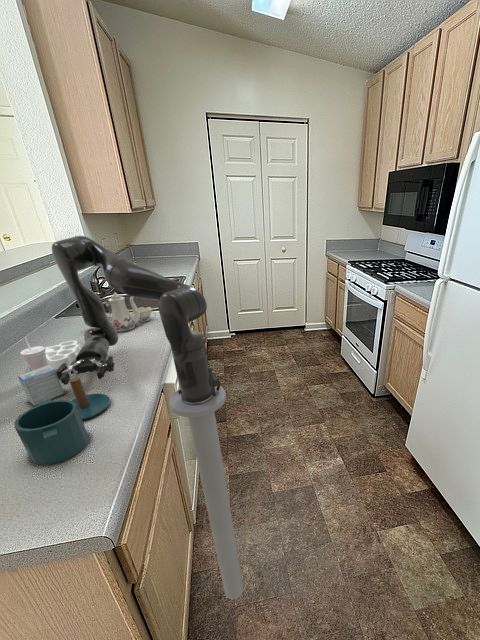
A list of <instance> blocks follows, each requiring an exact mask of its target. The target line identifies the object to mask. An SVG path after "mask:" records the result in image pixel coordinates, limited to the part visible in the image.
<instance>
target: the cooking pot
mask: <svg viewBox="0 0 480 640" xmlns="http://www.w3.org/2000/svg"><path fill="white" fill-rule="evenodd" d="M14 429H15V431H16V433H17V434H18V437H19V439H20V441H21V443H22V444H23V445H22V446H23V447H24V449H25V451H26V452H27V454H28V456H29V459H30V460H31V461H32V462H33V463H35V464H36V465H42V466H46V465H54V464H57V463H61V462H64V461H67V460H68V459H70V458H72V457H74V456H76V455H78V454H79V453H81V452H82V451H83V450H84V449H85V448H86V446H87V445H88V443H89V440H90V437H89V434H88V431H87V429H86V426H85V424H84V421H83V420H82V418H81V416H80V413H79V411H78V408H77V406H76V403H74V402H72V401H71V400H70V399H58V400H52V399H49V400H46V401H42V402H39V404H38V405H36V406H33V407H31V408H29V409H27V410H25V411H24V412H22V413H21V414H20V415H19V416H18V417H17V418H16V419H15V421H14Z"/></svg>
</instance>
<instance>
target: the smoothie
mask: <svg viewBox="0 0 480 640" xmlns="http://www.w3.org/2000/svg"><path fill="white" fill-rule="evenodd" d="M24 341H25V344H26V345H27V347H26V348H25V349H22V350H21V351H20V357H22V358H23V359H24V361H25V362H26V364H27V365H28V368H29V369H30V370H31V371H33V370H36V369H39V368H42V367H45V366H47V365H48V362H47V358H46V354H45V351H46V349H45V348H46V347H45V346H42V345H37V346H32V347H31V344H30V343H29V341H28V337H27V336H25V337H24Z"/></svg>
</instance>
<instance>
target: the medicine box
mask: <svg viewBox="0 0 480 640" xmlns="http://www.w3.org/2000/svg"><path fill="white" fill-rule="evenodd" d="M56 371H57V369H54V368H52V367H50V366H49V365H47V366H45V367H42V368H39V369H36V370H33V371H32V370H31V371H28V372H25V373H22V374H19V375H18V376H17V379H18V381H19V384H20V385H21V387H22V389H23V391H24V393H25V395H26V398H27V400H28V402H29V403H31V404H32V405H33V407H35V406H37V405H39V402H42V401H46V400H49V399H51V400H52V399H55V398H57V397H60V396H62V395H64V394H65V390H64V388H63V386H62V385H63V384H62V382H61V380H59V378H58V376H57V373H56Z"/></svg>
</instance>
